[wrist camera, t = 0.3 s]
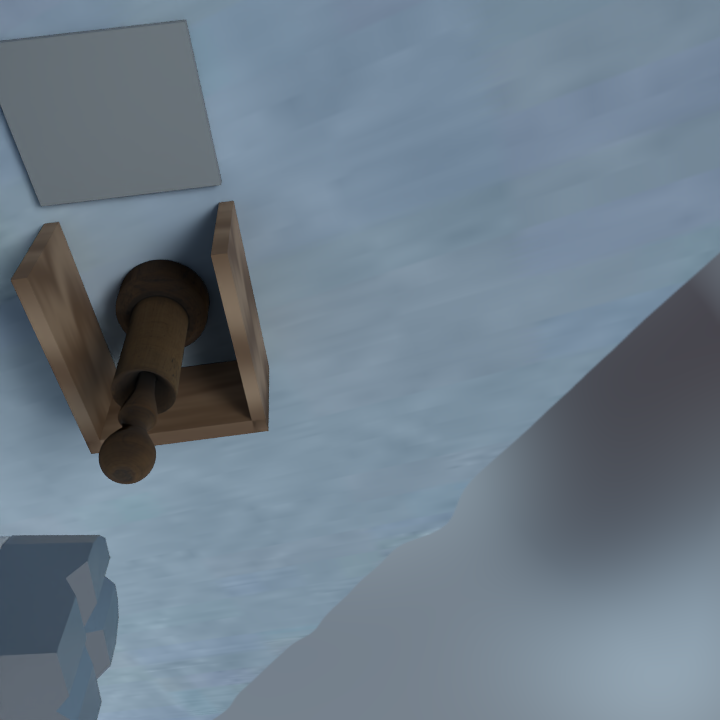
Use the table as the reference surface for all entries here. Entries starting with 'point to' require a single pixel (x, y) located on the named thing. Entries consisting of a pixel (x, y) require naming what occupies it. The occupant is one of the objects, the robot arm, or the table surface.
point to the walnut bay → (96, 367)
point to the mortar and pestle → (150, 359)
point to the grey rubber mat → (108, 112)
